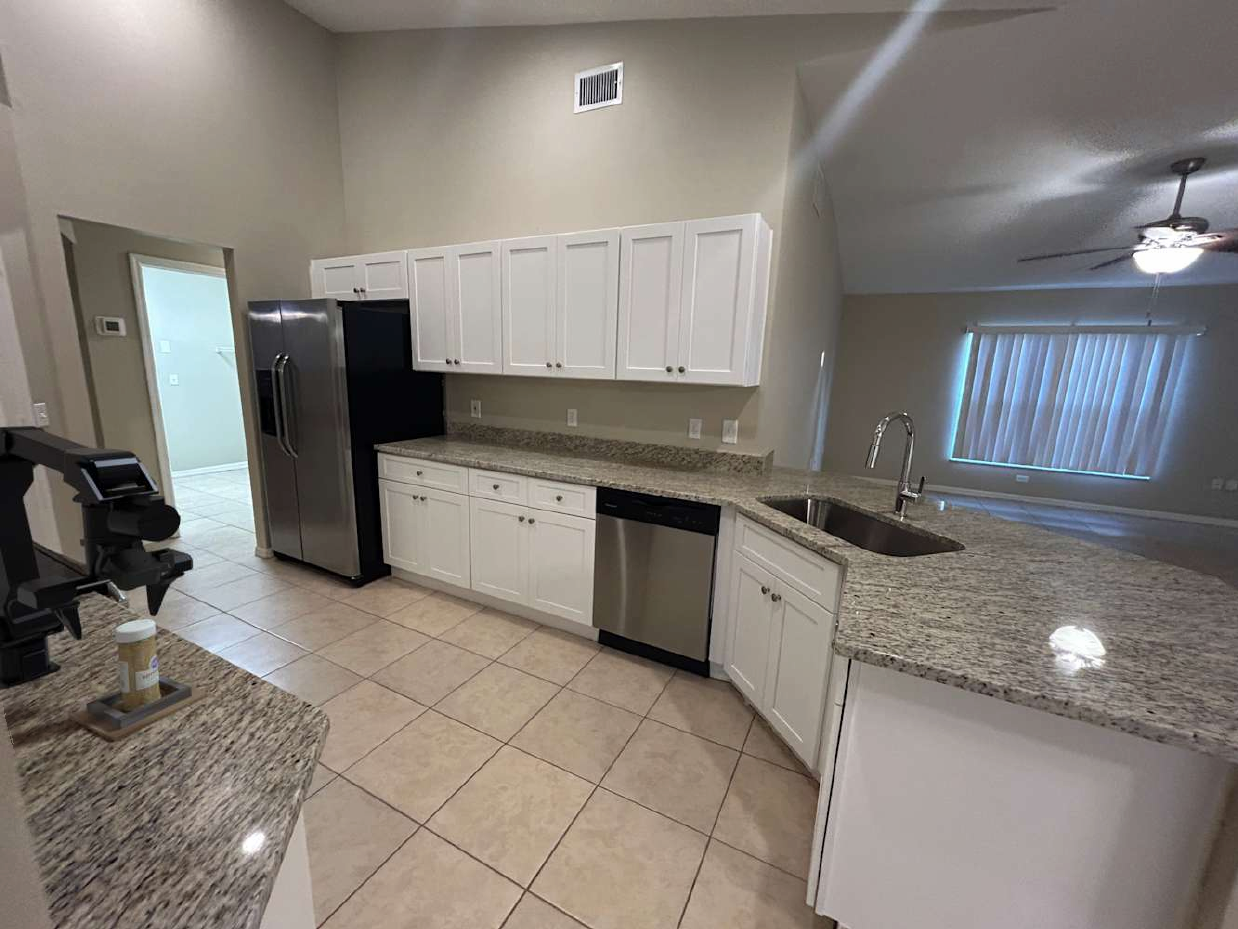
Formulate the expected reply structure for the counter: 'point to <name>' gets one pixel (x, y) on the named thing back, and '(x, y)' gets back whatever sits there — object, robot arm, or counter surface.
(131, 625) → the sprinkles bottle
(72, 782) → the counter surface
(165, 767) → the counter surface
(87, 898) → the counter surface
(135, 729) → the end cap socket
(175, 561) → the robot arm
